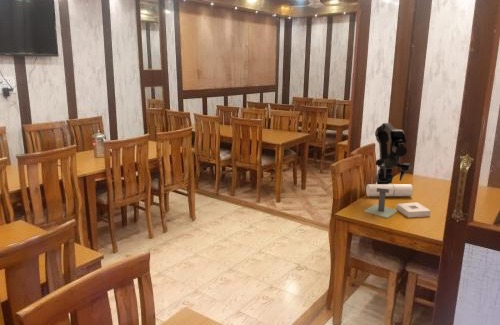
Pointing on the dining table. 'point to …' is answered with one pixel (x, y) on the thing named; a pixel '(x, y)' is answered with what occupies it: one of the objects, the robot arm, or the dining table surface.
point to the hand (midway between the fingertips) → (392, 179)
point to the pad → (385, 214)
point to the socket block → (413, 209)
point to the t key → (382, 198)
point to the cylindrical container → (390, 189)
